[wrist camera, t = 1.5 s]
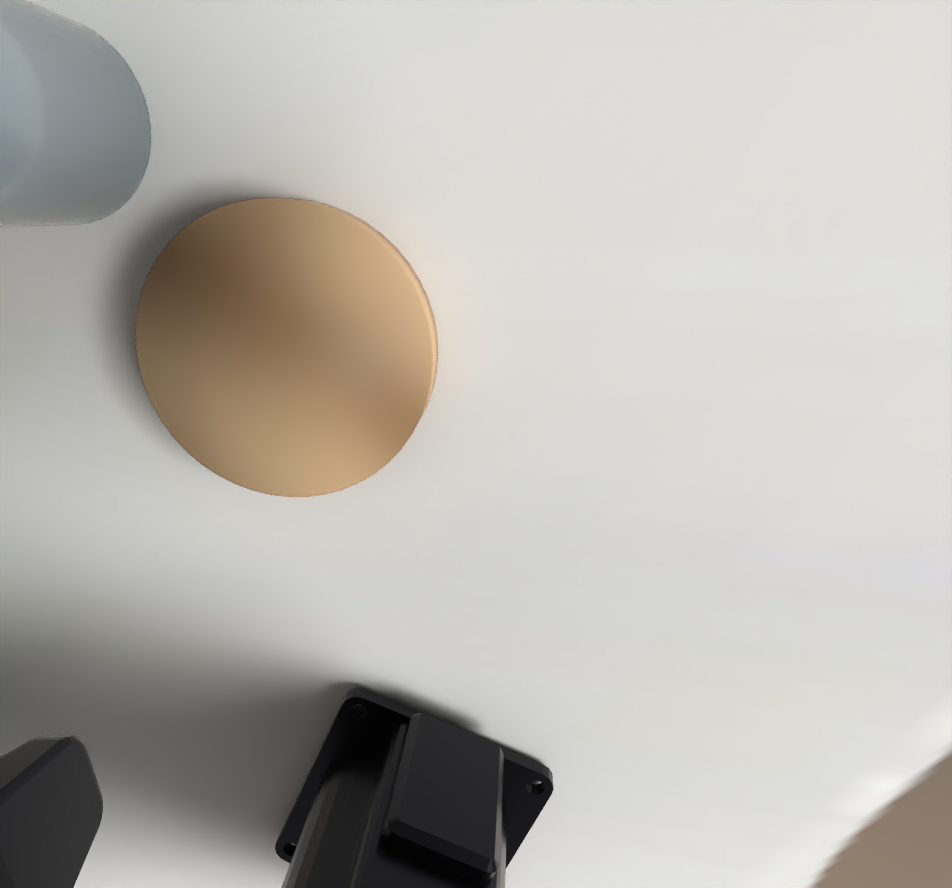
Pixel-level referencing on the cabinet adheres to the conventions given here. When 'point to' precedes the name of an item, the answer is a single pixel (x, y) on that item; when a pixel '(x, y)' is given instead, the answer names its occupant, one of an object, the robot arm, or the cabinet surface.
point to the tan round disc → (286, 345)
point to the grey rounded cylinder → (65, 121)
